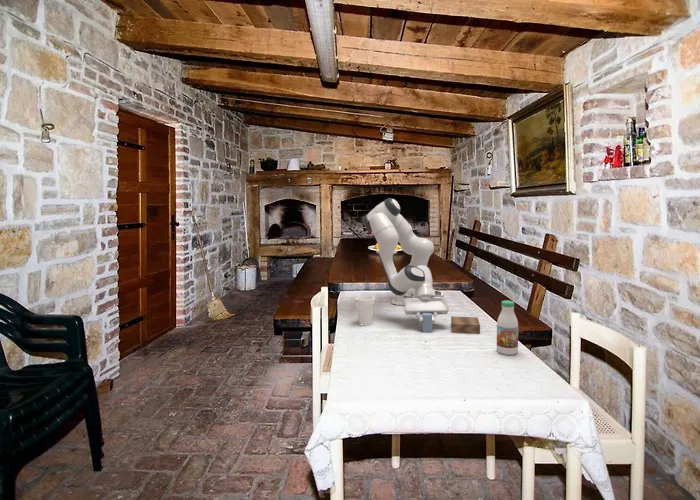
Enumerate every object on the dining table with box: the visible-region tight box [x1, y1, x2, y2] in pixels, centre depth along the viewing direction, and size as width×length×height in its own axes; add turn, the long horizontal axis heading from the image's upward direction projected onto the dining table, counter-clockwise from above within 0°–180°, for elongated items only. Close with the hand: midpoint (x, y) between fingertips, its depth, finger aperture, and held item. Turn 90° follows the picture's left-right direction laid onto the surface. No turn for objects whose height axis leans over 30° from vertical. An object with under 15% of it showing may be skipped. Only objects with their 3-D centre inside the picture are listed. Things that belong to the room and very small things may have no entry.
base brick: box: [450, 316, 481, 335], centre depth 178 cm, size 12×12×4 cm
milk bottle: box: [496, 300, 519, 356], centre depth 149 cm, size 8×8×20 cm
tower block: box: [421, 313, 433, 333], centre depth 177 cm, size 4×4×8 cm
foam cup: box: [355, 295, 376, 326], centre depth 190 cm, size 10×9×13 cm
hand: (427, 322), depth 176 cm, fingers closed on tower block, 4 cm apart
